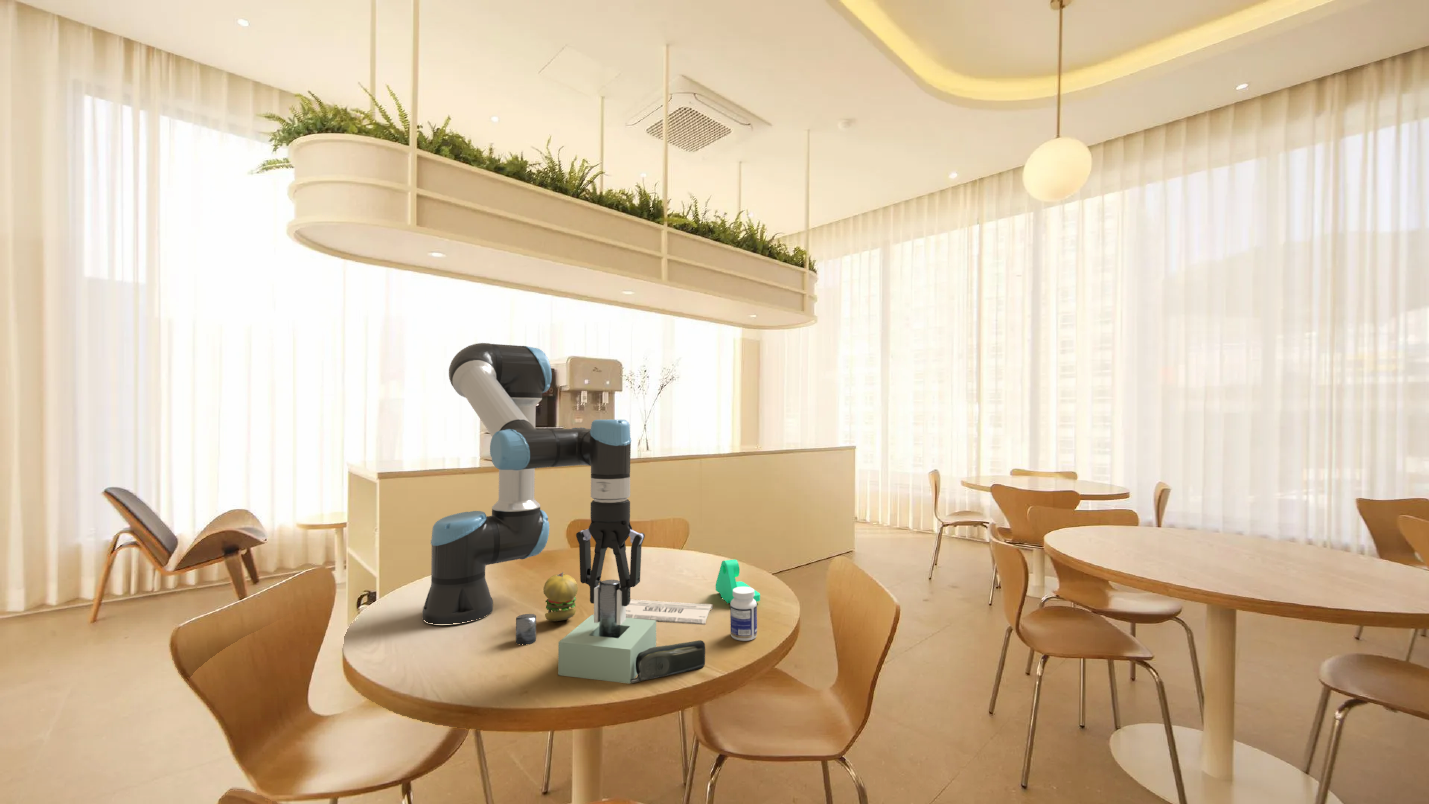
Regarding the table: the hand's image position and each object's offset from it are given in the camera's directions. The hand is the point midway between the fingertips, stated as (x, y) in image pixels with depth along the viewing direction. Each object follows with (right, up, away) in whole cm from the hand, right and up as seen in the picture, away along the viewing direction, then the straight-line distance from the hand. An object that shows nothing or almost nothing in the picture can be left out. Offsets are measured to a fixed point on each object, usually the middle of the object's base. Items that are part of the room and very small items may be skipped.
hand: (609, 620), depth 106 cm
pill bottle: (+26, -8, +12) cm, 30 cm away
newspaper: (+8, -9, +27) cm, 29 cm away
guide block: (0, -8, 0) cm, 8 cm away
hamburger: (-15, -8, +20) cm, 26 cm away
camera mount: (+26, -9, +36) cm, 45 cm away
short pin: (-19, -8, +9) cm, 23 cm away
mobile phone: (+12, -8, -4) cm, 15 cm away
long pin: (0, -4, 0) cm, 4 cm away
